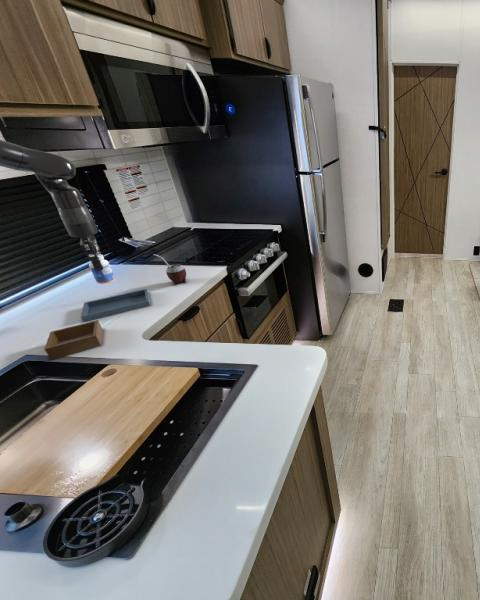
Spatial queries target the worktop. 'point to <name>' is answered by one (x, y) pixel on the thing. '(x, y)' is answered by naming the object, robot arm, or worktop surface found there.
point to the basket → (77, 345)
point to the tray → (115, 305)
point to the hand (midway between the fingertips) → (100, 267)
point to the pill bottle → (102, 271)
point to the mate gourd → (175, 272)
